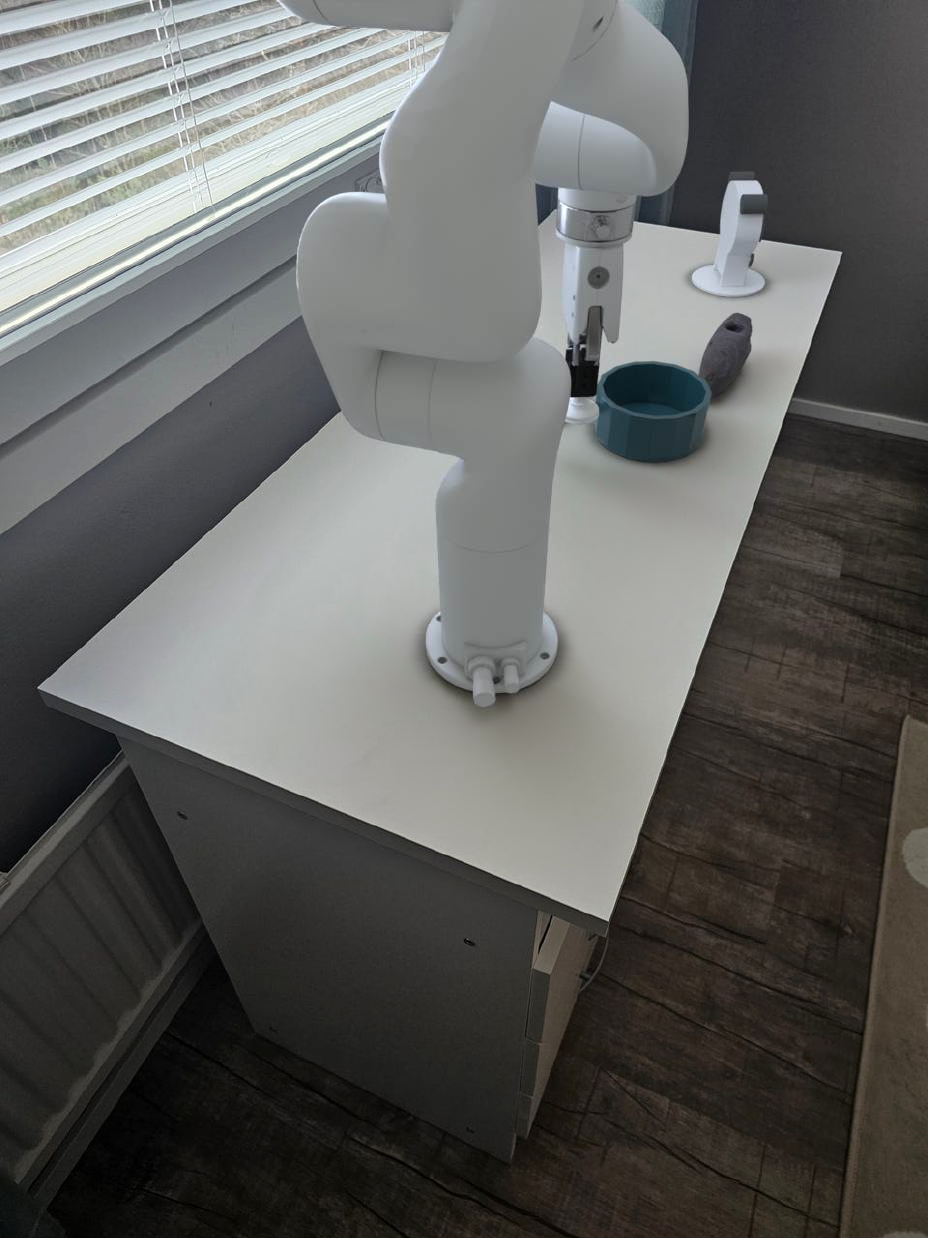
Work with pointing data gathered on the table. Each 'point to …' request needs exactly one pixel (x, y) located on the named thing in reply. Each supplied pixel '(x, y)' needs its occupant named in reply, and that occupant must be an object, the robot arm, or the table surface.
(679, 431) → the bowl
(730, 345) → the perforated stone tool
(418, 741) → the table surface
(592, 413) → the chess piece
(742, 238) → the white stand
